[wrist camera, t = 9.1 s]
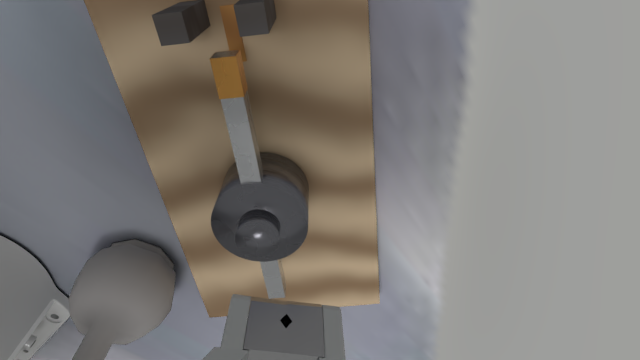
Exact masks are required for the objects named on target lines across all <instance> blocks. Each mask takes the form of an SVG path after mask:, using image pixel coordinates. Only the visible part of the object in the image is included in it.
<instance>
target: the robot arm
mask: <svg viewBox="0 0 640 360" xmlns="http://www.w3.org/2000/svg"><path fill="white" fill-rule="evenodd" d="M250 301H251V303H250ZM249 308H250V309H249ZM248 314H249V315H248ZM69 317H70V309H69V299H68V298H67V297H66V296H65V295H64V294H63V293H61V292H60V291H59V290H58V289H57V288H56V286H55V285H54V283H53V281H52V279H51V277H50V275H49V274H48V272H47V271H46V269H45V268H44V267H43V266H42V265H41V264H40V262H39V261H38V260H37V259H36V258H34V257H33V256H32V255H31V254H30V253H29V252H27V251H26V250H25V249H23V248H22V247H20V246H19V245H17V244H15V243H14V242H12V241H10V240H8V239H7V238H5V237H3V236H0V360H29V359H30V358H31V357H32V356H33V355H34V354H35V353H36V352H37V351H38V350H39V349H40V348H41V347H42V346H43V344H44V343H45V342H46V341H47V340H48V339H49V338H50V337H51V336H52V335H53V334H54V333H55V332H56V331H57V330H58V329H59V328H60V327H61V326H62V324H63V323H64V322H65V321H66V320H67V319H68V318H69ZM202 360H345V349H344V338H343V327H342V317H341V309H340V307H337V306H329V305H321V304H313V303H304V302H294V301H281V300H274V299H267V298H260V297H254V296H252V297H251V296H245V295H238V294H233V295H232V298H231V301H230V306H229V310H228V315H227V319H226V324H225V329H224V333H223V338H222V342H221V347H214V348H213V349H212V350H211V351H210V352H209V353H208V354H207V355H206V356H205V357H204V358H203V359H202Z"/></svg>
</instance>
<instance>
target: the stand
mask: <svg viewBox="0 0 640 360" xmlns="http://www.w3.org/2000/svg"><path fill="white" fill-rule="evenodd" d="M84 2H85V4H86V7H87V10H88V12H89V15H90V17H91V20H92V22H93V25H94V27H95V30H96V32H97V35H98V37H99V40H100V42H101V45H102V47H103V50H104V52H105V55H106V57H107V60H108V62H109V65H110V68H111V70H112V73H113V75H114V78H115V80H116V83H117V85H118V88H119V90H120V93H121V95H122V98H123V100H124V103H125V105H126V108H127V110H128V113H129V115H130V118H131V120H132V123H133V126H134V128H135V131H136V133H137V136H138V138H139V141H140V143H141V146H142V148H143V151H144V153H145V156H146V158H147V161H148V163H149V166H150V168H151V171H152V173H153V176H154V178H155V181H156V184H157V186H158V189H159V191H160V194H161V196H162V199H163V201H164V204H165V206H166V209H167V211H168V214H169V216H170V219H171V221H172V224H173V226H174V229H175V231H176V234H177V236H178V239H179V242H180V244H181V247H182V249H183V252H184V254H185V257H186V259H187V262H188V264H189V267H190V269H191V272H192V274H193V277H194V279H195V282H196V284H197V287H198V289H199V292H200V294H201V297H202V300H203V302H204V305H205V307H206V310H207V312H208V315H209V317H221V316H227V315H228V310H229V306H230V301H231V298H232V295H233V294H238V295H245V296H251V297H252V296H254V297H260V298H267V299H269V297H268V293H267V289H266V285H265V281H264V277H263V273H262V269H261V264H260V262H259V261H251V260H247V259H243V258H241V257H238V256H236V255H234V254H232V253H231V252H229V251H228V250H226V249H225V248H224V247H223V246H222V245H221V244H220V243H219V242H218V240H217V239H216V237H215V236H214V233H213V231H212V227H211V214H212V211H213V208H214V205H215V203H216V200H217V197H218V195H219V192H220V189H221V187H222V184H223V181H224V179H225V176H226V174H227V172H228V170H229V168H230V167H231V166H232V165H233V164H234V163H235V162H236V161H235V157H234V153H233V149H232V145H231V141H230V137H229V132H228V128H227V124H226V120H225V116H224V112H223V108H222V104H221V99H219V96H218V92H217V87H216V83H215V79H214V75H213V71H212V67H211V63H210V58H211V56H212V55H213V54H214V53H215V52H222V51H232V50H240V52H241V57H242V62H243V67H244V72H245V77H246V82H247V87H248V89H247V92H248V97H249V102H250V107H251V112H252V117H253V122H254V127H255V131H256V136H257V141H258V146H259V151H260V152H268V153H275V154H279V155H282V156H284V157H286V158H288V159H290V160H292V161H293V162H294V163H296V164H297V165H298V166H299V167H300V168H301V170H302V171H303V172H304V174H305V176H306V178H307V181H308V185H309V210H308V232H307V236H306V238H305V240H304V242H303V244H302V245H301V246H300V247H299V248H298V249H297V250H296V251H295V252H294V253H292V254H291V255H289V256H287V257H285V258H282V259H281V261H282V266H283V271H284V276H285V281H286V295H285V298H272V299H274V300H281V301H294V302H304V303H313V304H321V305H329V306H337V307H342V306H354V305H367V304H379V303H380V300H379V274H378V247H377V221H376V195H375V169H374V142H373V116H372V90H371V63H370V37H369V11H368V0H84ZM250 303H251V301H250ZM249 309H250V308H249Z"/></svg>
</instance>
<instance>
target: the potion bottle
mask: <svg viewBox="0 0 640 360" xmlns="http://www.w3.org/2000/svg"><path fill="white" fill-rule="evenodd" d="M173 268H174V263H173V262H172V261H171V259H170V258H169V257H168V256H167V255H166V253H165V252H164V251H163V250H162V249H161V247H158V246H155V245H152V244H149V243H147V242H144V241H141V240H138V239H132V240H126V241H121V242H115V243H112V245H111V247H109V248H104V249H101V250H100V251H99V252H98V253H96V254H95V255H94V256H93V257H92V258H90V259H89V260H88V261H87V262H86V264H85V265H84V267H83V269H82V270H81V272H80V274H79V275H78V277H77V279H76V280H75V282H74V285H73V288H72V291H71V294H70V297H69V309H70V317H71V319H72V320H73V322H74V324H75V325H76V327H77V329H78V331H79V332H80V333H82V334H84V335H86V336H85V338H84V339H83V341H82V343H81V345H80V346H79V348H78V350H77V352H76V353H75V355H74V357H73V358H72V360H104V359H105V357H106V355H107V353H108V351H109V349H110V347H111V345H112V344H120V345H126V344H129V343H131V342H133V341H135V340H137V339H139V338H141V337H143V336H144V335H146V334H147V333H149V332H150V331H152V330H153V329H155V328H156V327H158V326H159V325H160V324H161V322H162V321H163V320H164V318H165V317H166V316H167V314H168V313H169V312H170V311H171V306H172V300H173V294H174V287H175V275H176V273H175V272H174V271H173Z"/></svg>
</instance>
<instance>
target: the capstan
mask: <svg viewBox="0 0 640 360" xmlns="http://www.w3.org/2000/svg"><path fill="white" fill-rule="evenodd" d="M210 63H211V67H212V71H213V75H214V79H215V83H216V87H217V92H218V96H219V99H221V104H222V108H223V112H224V116H225V120H226V124H227V128H228V132H229V137H230V141H231V145H232V149H233V153H234V157H235V161H236V162H235V163H234V164H233V165H232V166H231V167H230V168H229V170H228V172H227V174H226V176H225V179H224V181H223V184H222V187H221V189H220V192H219V195H218V197H217V200H216V203H215V205H214V208H213V211H212V214H211V227H212V231H213V233H214V236H215V237H216V239H217V240H218V242H219V243H220V244H221V245H222V246H223V247H224V248H225V249H226V250H228V251H229V252H231V253H232V254H234V255H236V256H238V257H241V258H243V259H247V260H251V261H259V262H260V264H261V269H262V273H263V277H264V281H265V285H266V289H267V293H268V297H269V299H272V298H285V295H286V281H285V276H284V271H283V266H282V261H281V259H282V258H285V257H287V256H289V255H291V254H292V253H294V252H295V251H296V250H297V249H298V248H299V247H300V246H301V245H302V244H303V242H304V240H305V238H306V236H307V232H308V210H309V185H308V181H307V178H306V176H305V174H304V172H303V171H302V170H301V168H300V167H299V166H298V165H297V164H296V163H294V162H293V161H292V160H290V159H288V158H286V157H284V156H282V155H279V154H275V153H268V152H260V151H259V146H258V141H257V136H256V131H255V127H254V122H253V117H252V112H251V107H250V102H249V97H248V92H247V89H248V87H247V82H246V77H245V72H244V67H243V62H242V57H241V52H240V50H232V51H222V52H215V53H214V54H213V55H212V56H211V58H210Z"/></svg>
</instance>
